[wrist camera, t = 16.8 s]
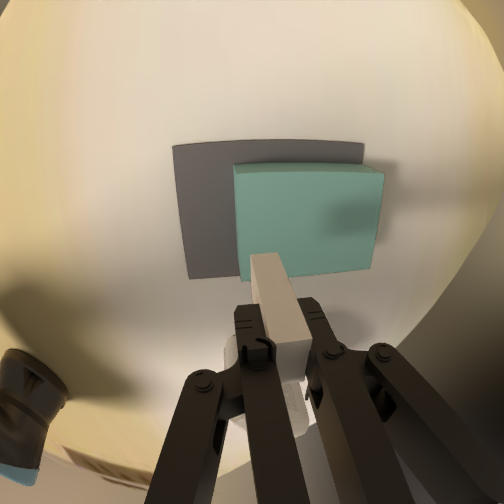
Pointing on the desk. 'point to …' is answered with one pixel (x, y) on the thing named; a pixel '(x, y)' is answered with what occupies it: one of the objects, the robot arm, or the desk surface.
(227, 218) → the mat
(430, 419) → the robot arm
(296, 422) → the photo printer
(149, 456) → the desk surface
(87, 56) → the desk surface
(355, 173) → the block
